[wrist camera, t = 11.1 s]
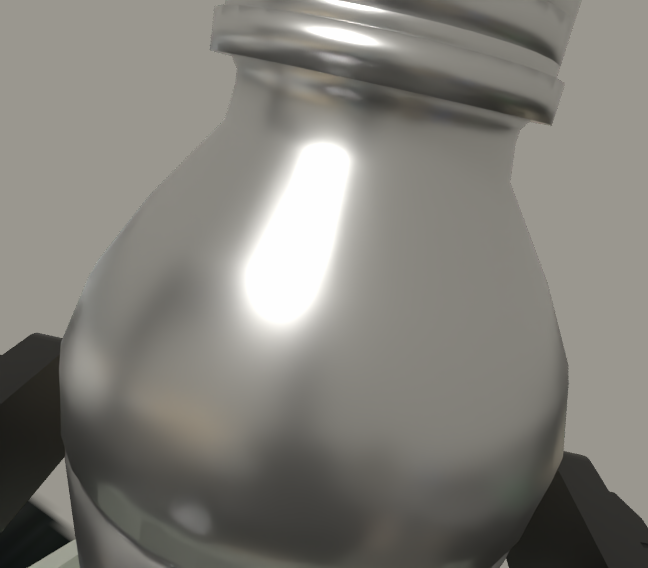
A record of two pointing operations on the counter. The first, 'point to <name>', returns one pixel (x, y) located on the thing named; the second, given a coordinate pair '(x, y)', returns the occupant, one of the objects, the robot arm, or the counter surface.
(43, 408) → the robot arm
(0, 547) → the counter surface
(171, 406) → the plastic bottle
